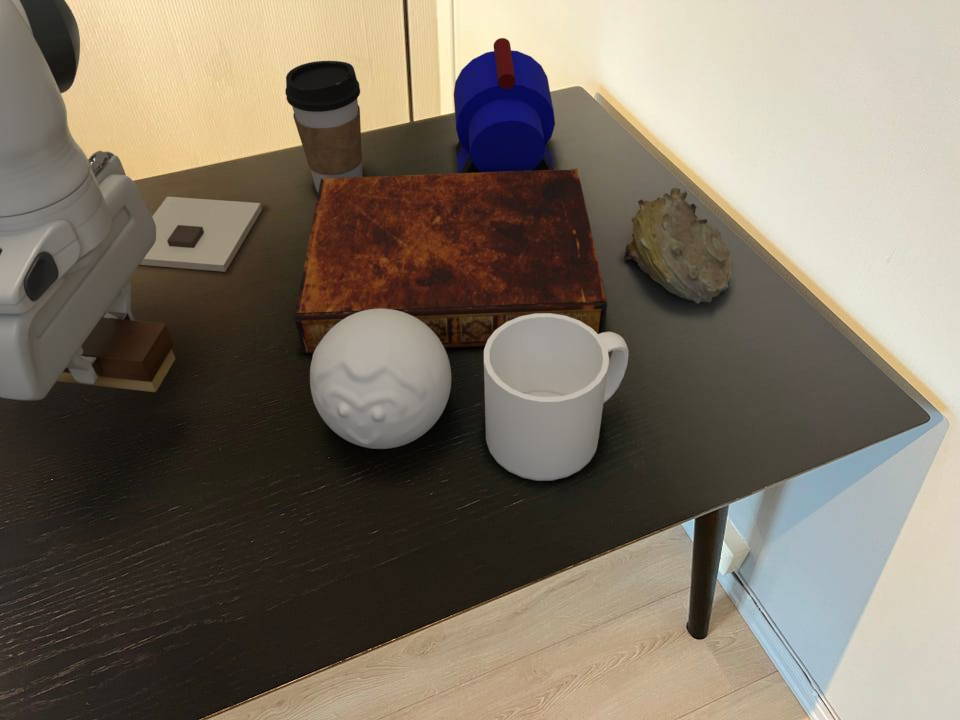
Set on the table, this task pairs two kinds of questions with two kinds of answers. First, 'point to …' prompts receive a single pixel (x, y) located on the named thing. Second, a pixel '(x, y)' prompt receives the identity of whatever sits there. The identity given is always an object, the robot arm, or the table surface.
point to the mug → (548, 393)
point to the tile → (220, 237)
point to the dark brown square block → (185, 236)
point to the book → (451, 253)
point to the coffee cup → (327, 117)
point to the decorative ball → (380, 378)
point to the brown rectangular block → (128, 354)
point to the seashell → (679, 248)
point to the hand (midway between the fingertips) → (107, 352)
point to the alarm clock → (503, 113)
